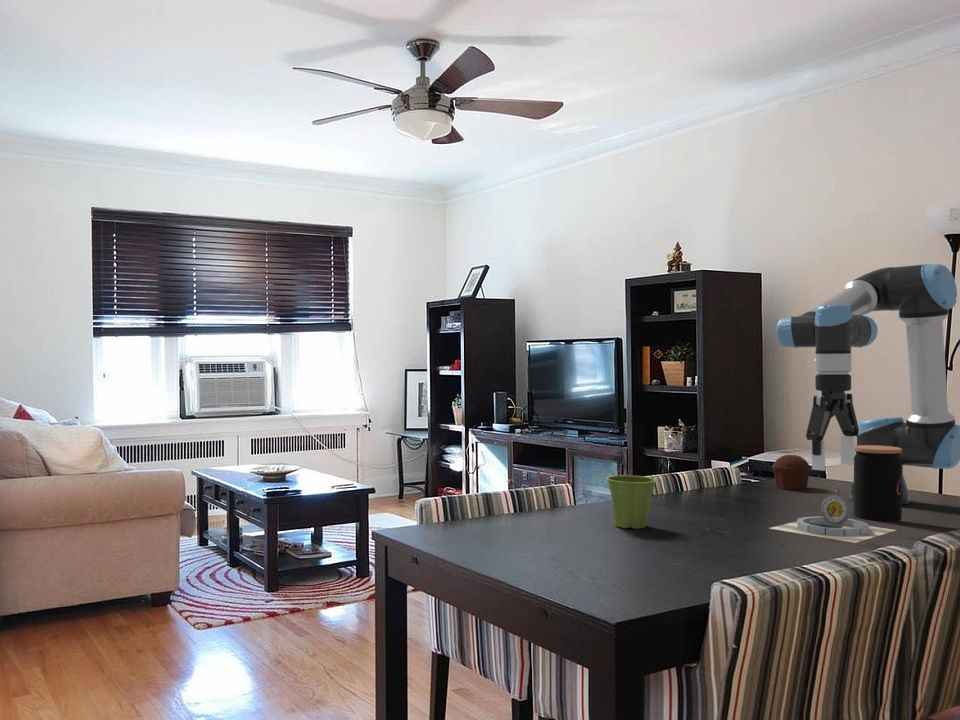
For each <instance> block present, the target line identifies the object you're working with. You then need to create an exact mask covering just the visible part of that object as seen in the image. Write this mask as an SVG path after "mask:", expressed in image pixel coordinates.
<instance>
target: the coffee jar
mask: <svg viewBox="0 0 960 720" xmlns="http://www.w3.org/2000/svg"><path fill="white" fill-rule="evenodd" d="M854 452H855V454H854V465H853V482H854V500H853V516H854V518H857V519H861V520H867V521H875V522H897V521H898V522H900V521H901V520H902V518H903V515H902V513H903V504H902V459H901V457H900V454H901V452H902V449H901V448H898V447H891V446H876V445H860V446H857V445H854Z"/></svg>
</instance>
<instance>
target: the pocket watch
mask: <svg viewBox="0 0 960 720" xmlns="http://www.w3.org/2000/svg"><path fill="white" fill-rule="evenodd" d="M838 486H839V487H840V488H842V489H841V490H840V488H836V487H838ZM835 488H836V489H835ZM844 489H845V487H844V486H843V485H841V484H836V485H833V487H832V490H833V491H834V492H835V494H832V495H829V496H827V497H826V498H824V499H823V501H822V503H821V506H820V512H821V513H820V514H821V517H822V516H823V518H824V519H825V521H827V522H828V523H826V522H819V521H812V520H811V523H812V524H814V525H816V526H822V527H831V528H842V527H843V525H840V524H842V523H844V522H846V521H847V520H848V519H850V515H851V505H850V503H849V501H848V500H847V499H846V498H845V497H843V496H841V495H839V493H841V492H842V491H844ZM832 515H833V516H832ZM833 517H837V518H833Z"/></svg>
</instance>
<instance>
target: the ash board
mask: <svg viewBox="0 0 960 720" xmlns="http://www.w3.org/2000/svg"><path fill="white" fill-rule="evenodd" d="M811 525H814V524H811ZM815 526H816V525H815ZM842 528H854V527H850V526H844V525H843V527H842ZM768 529H770V530H776V531H783V532H788V533H794V534H800V535H807V536H812V537H817V538H823V539H824V538H825V539H829V540H838V541H843V542H848V543H849V542H850V543H855V544H857V543H860V542H863V541H866V540H870V539H873V538H876V537H879V536H882V535H887V534H889V533H894V532H897V529H890V528H883V527H878V526H872V525H871V526H870V525H869V533H868V534H864V535H860V536H833V535H826V534H825V535H822V534H816V533H810V532H806V531H803V530H800V529H798V527H797V521H792V522H788V523H785V524H781V525H780V524H779V525H776V526H772V527H768Z"/></svg>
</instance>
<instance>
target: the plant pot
mask: <svg viewBox="0 0 960 720" xmlns="http://www.w3.org/2000/svg"><path fill="white" fill-rule="evenodd" d="M605 480H606V481H607V483H608V488H609V491H610V497H611V505H612V511H613V512H612V513H613V520H614V524H615V527H617V528H622V529H628V528H632V529H633V530H634V529H635V530H639V529H645V528H646V527H647V522H648V518H649V512H650V507H651V500H652V495H653V492H654V489H655V485H656V483H657V482H658V480H657V479H656V478H653V477H649V476H643V475H642V476H641V475H611V476H606V477H605Z"/></svg>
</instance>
